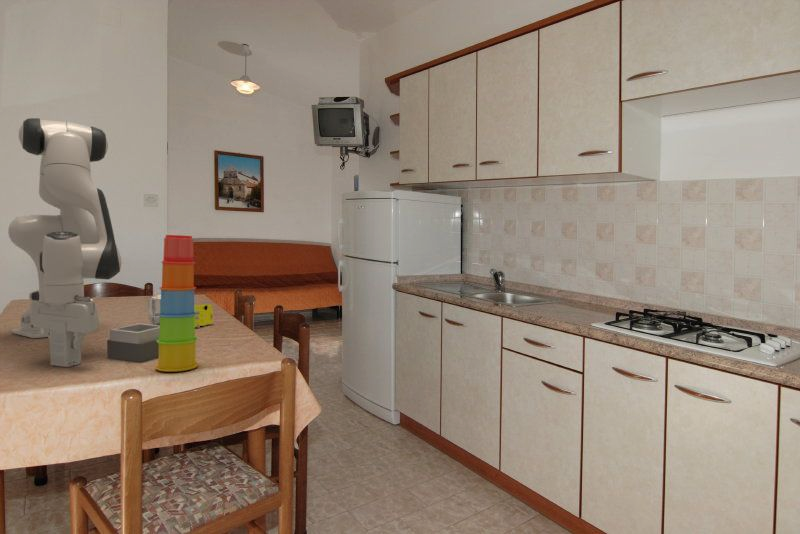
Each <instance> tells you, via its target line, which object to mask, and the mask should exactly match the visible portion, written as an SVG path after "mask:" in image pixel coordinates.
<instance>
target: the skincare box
mask: <svg viewBox="0 0 800 534" xmlns="http://www.w3.org/2000/svg"><path fill="white" fill-rule="evenodd" d="M49 326H50V339H49V351H50V354H49V355H50V366H54V365H55V366H56V367H64V368H69V367H70V368H71V367H73V365H74V366H77V365H80V363H81V364H82V347H81V348H80V349H72V348H71V342H73V341H74V339H75V336H73V332H68V331H67V329H66V322H65V321H57V320H49Z"/></svg>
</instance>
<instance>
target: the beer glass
mask: <svg viewBox="0 0 800 534" xmlns="http://www.w3.org/2000/svg"><path fill="white" fill-rule="evenodd" d="M146 309H147V310H146V311H147V318H148V324H150V325H159V326H160V316H158V314H159V313H161V295H153V296H152V295H151V296H148V297H147V308H146Z"/></svg>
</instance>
